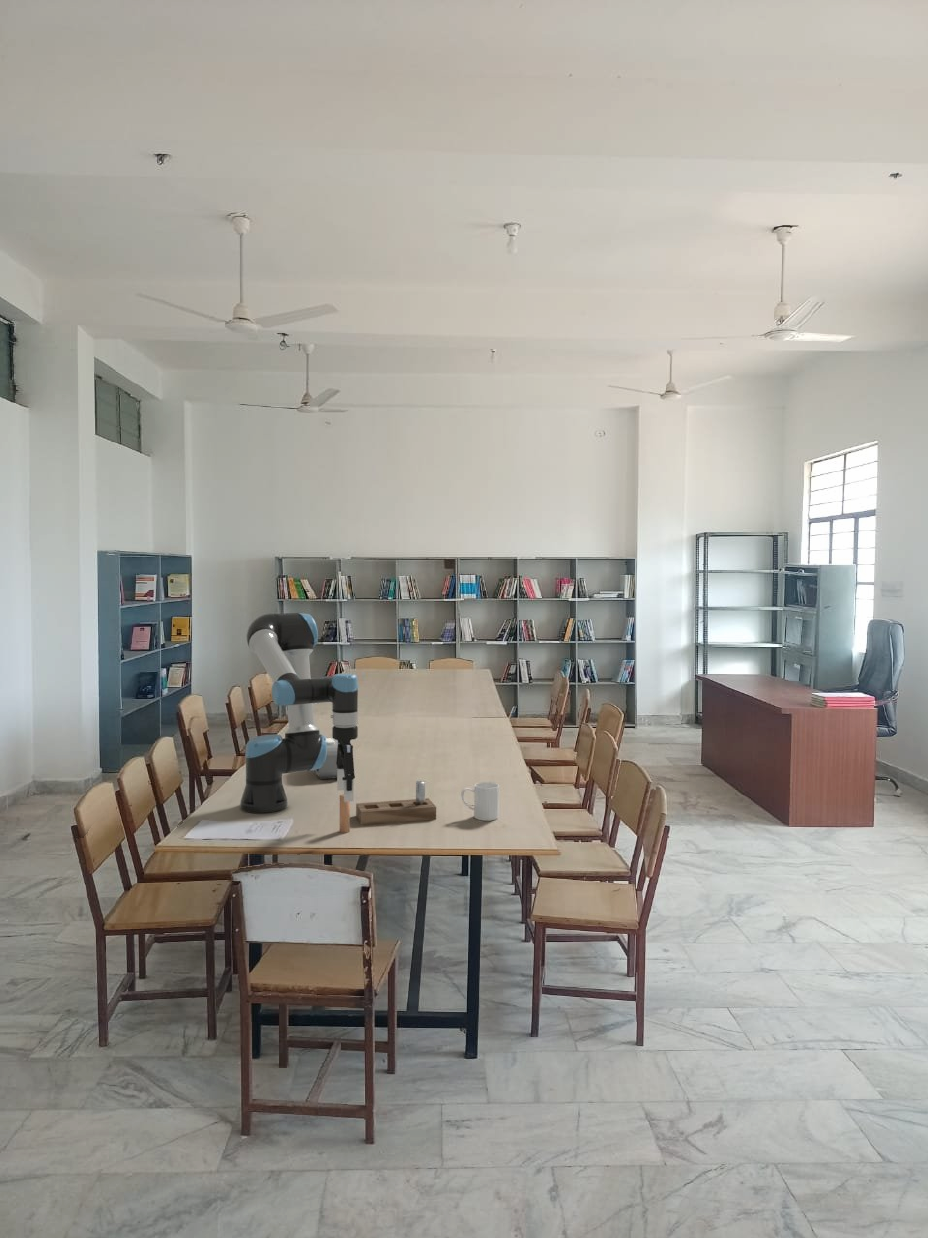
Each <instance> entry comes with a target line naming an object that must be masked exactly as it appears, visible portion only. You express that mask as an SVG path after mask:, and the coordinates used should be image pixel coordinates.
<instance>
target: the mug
mask: <svg viewBox="0 0 928 1238" xmlns="http://www.w3.org/2000/svg"><path fill="white" fill-rule="evenodd" d="M473 787H474V788H470V787H465V788H463V789H462V791H461V795H460V796H461V800H462V802H463V804H464V805H465V806H466V807H467V808H468V809H470V810H472V811H473V817H474V818H475V820H479V821H484V822H488V821H489V822H490V821H495V820H498V818H499V817H500V815H499V814H500V813H499V810H500V809H499V808H500V807H499V806H500V805H499V804H500V802H499V801H500V785H499V784H498V783H496V782H487V781H485V782H483V781H482V782H476V783H475V784H474V786H473ZM466 791H471V792H473V793H474V797H473V807H472V806H471V805H470V804H468V803H467V802H466V800H465V797H464V794H465V792H466Z"/></svg>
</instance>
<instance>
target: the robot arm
mask: <svg viewBox="0 0 928 1238" xmlns="http://www.w3.org/2000/svg"><path fill="white" fill-rule="evenodd" d="M246 632H247V633H246V642H247V645H248V648H249V649H250V651H251V652H252V653H253V654H255V655H257V657H258V659H259V661H260V663H261V664H262V665H263V667H264V669H265V672H266V673H267V675H268V676H269V678H270V680H271V682H272V686H271V697H272V702H273V703H274V704H275V705H276V706H287V720H288V728H287V730H285V732H284V738H283V737H282V735H280V734H276V733H275V734H264V735H259V736H255V737H253V738H251V739H249V740H248V741H247V743H246V745H245V746H246V747H245V754H244V756H245V786H244V789H243V793H242V795H241V799H240V805H239V808H240V810H242V812H246V813H251V814H252V813H253V814H255V813H256V814H267V813H274V812H279V811H282V810H285V809H286V808H288V797H287V794H286V790H285V788H284V785H283V774H291V773H299V772H301V773H302V772H311V771H314V770H315V769H319V768H321V767H322V766H323V764H324V762H325V759H326V755H327V742H326V738H327V737H326V736H324V735H323V734H321V733H320V729H319V728H318V727H317V726H316V725H315V715H314V704H319V703H320V704H321V703H331V706H332V709H331V711H332V714H330V719H332V725H333V726H332V727H331V728H332V730H331V731H332V735H331V736H332V739H333V740H338V748H337V761H336V764H337V768H339V769H337V778H336V779H337V780H336V784H337V787H336V788H337V791H343V794H344V802H349V801H350V802H354V779H355V778H356V776H355V775H356V774H355V765H354V764H355V763H354V753H353V752H354V746H353V745H352V743H351V741H352V740H356V739H358V737H359V735H358V734H359V732H358V731H359V730H358V728H359V727H358V726H357V725H358V724H359V723H358V722H359V716H358V715H359V711H358V702H359V700H358V693H359V690H358V689H359V684H358V683H359V682H358V677H357V675H356V674H354V673H336V674H334V675H333V676H323V677H318V678H317V677H316V678H311V676H312V675H311V665H310V655H311V654H312V653H313V651H314V647H315V646H316V645H317V644H318V641H319V639H318V638H319V630H318V625H317V623H316V621H315V619H314V618H313V616H312V615H311V614H309V613H299V612H295V613H294V612H291V613H287V612H286V613H265V614H262V615H260V616H258V617H257V618H255V620H253V621H252V623H251V624H250V625H249V626H248V629H247V631H246Z"/></svg>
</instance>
